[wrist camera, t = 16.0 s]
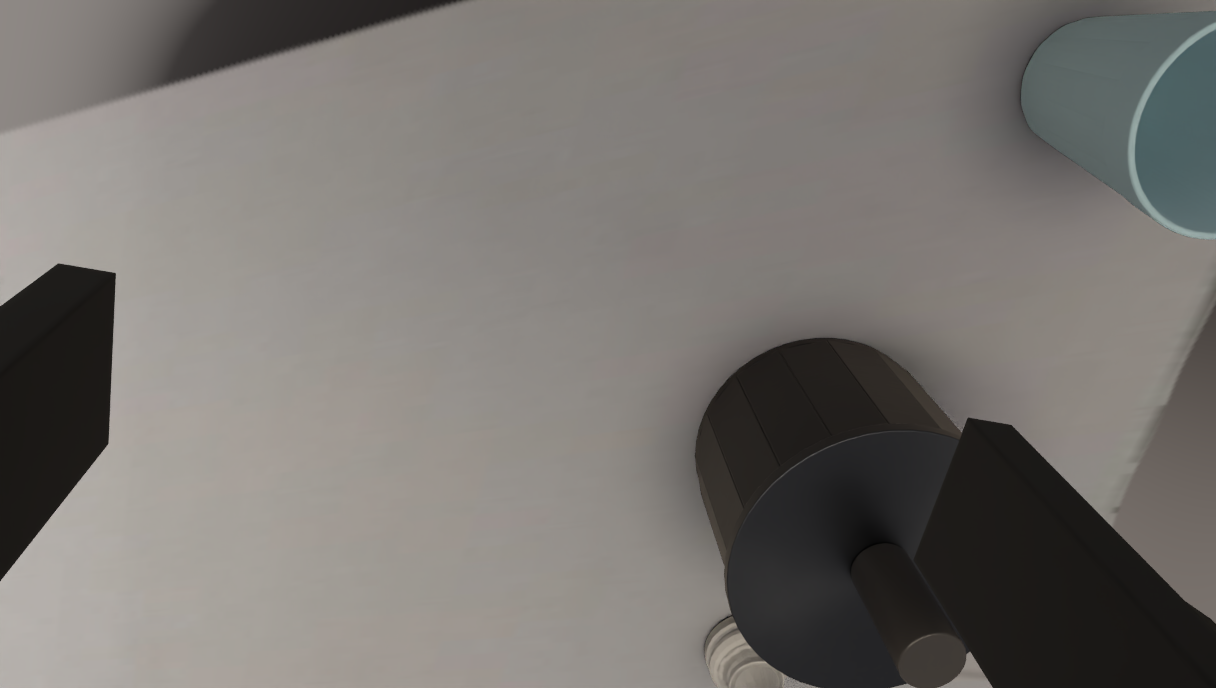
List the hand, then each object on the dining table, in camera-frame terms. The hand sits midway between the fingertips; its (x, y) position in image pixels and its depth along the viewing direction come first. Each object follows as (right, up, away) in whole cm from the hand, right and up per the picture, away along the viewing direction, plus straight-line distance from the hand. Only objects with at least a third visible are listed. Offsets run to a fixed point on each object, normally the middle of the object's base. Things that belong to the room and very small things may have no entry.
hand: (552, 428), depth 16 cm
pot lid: (+11, -7, +25) cm, 28 cm away
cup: (+21, +13, +28) cm, 37 cm away
